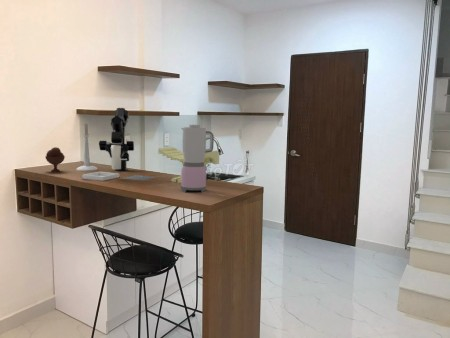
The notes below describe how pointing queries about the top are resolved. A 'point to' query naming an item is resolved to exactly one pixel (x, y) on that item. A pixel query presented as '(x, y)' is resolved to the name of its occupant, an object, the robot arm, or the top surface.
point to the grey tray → (100, 176)
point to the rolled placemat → (116, 156)
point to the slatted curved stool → (178, 155)
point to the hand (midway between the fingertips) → (115, 157)
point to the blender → (195, 157)
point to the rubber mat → (139, 177)
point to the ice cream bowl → (55, 158)
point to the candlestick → (86, 154)
